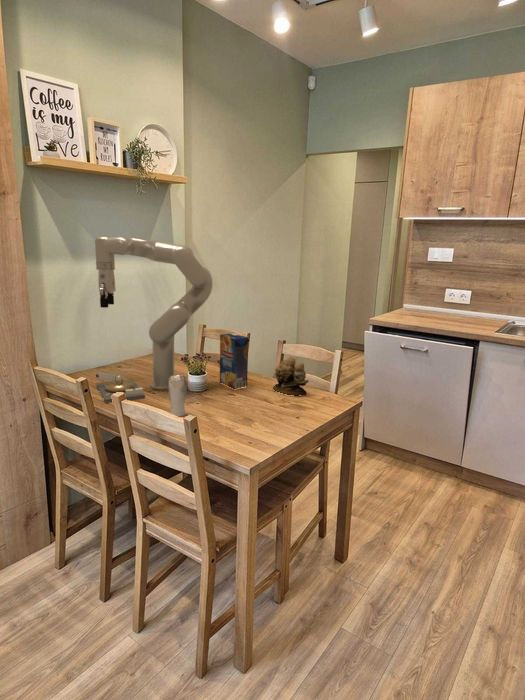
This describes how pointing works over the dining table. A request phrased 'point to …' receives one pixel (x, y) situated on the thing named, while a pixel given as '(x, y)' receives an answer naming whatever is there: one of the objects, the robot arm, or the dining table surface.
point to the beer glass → (177, 394)
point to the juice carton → (233, 360)
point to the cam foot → (115, 382)
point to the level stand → (130, 393)
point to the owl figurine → (290, 377)
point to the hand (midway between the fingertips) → (107, 305)
